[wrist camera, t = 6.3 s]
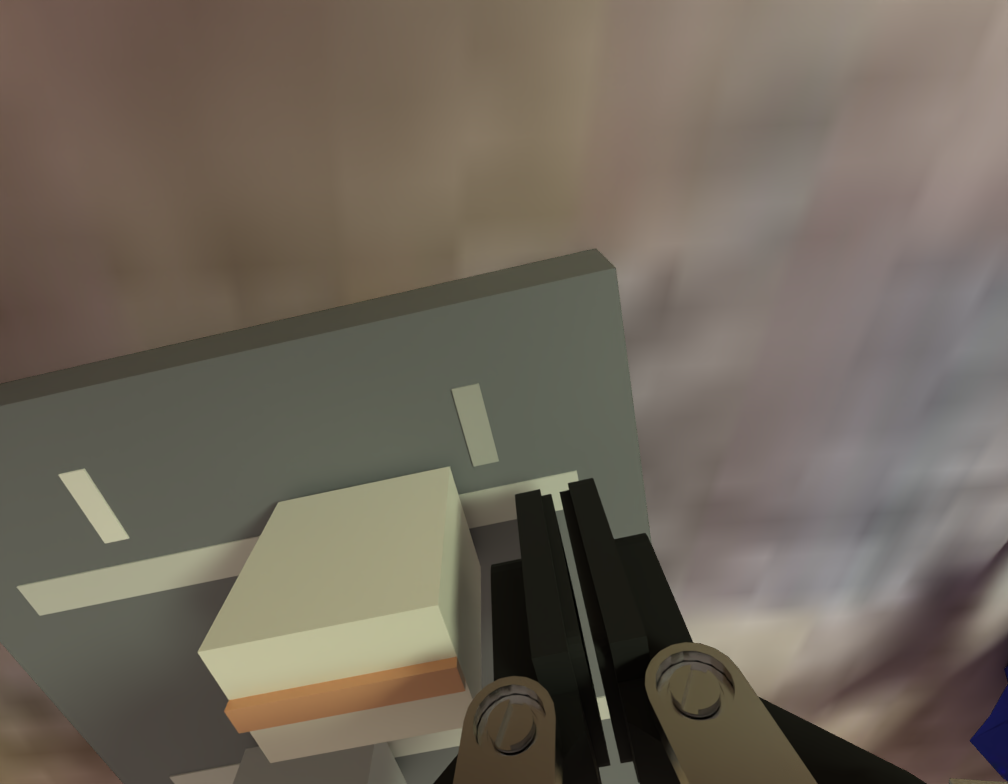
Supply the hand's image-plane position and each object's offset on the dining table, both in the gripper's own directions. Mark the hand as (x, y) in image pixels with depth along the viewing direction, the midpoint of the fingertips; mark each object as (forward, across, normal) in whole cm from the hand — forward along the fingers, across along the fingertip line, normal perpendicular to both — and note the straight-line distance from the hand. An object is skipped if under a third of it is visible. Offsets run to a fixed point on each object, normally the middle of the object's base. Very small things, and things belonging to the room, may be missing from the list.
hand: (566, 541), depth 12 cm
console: (+4, +6, +4) cm, 8 cm away
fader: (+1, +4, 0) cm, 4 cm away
